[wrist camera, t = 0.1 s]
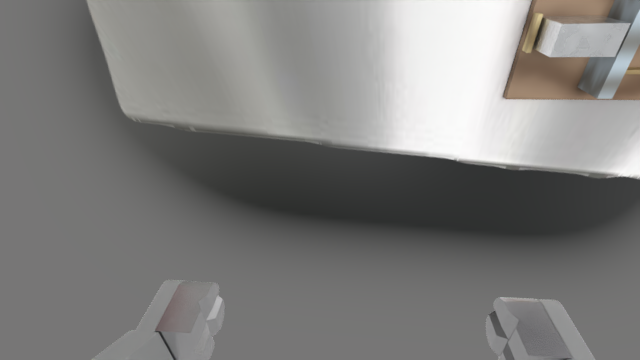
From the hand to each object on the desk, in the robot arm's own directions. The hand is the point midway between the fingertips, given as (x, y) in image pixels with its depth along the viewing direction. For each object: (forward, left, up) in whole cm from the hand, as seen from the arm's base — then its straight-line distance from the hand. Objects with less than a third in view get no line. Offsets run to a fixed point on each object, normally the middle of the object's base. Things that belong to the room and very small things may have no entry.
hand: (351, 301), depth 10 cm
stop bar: (+1, +30, -47) cm, 56 cm away
